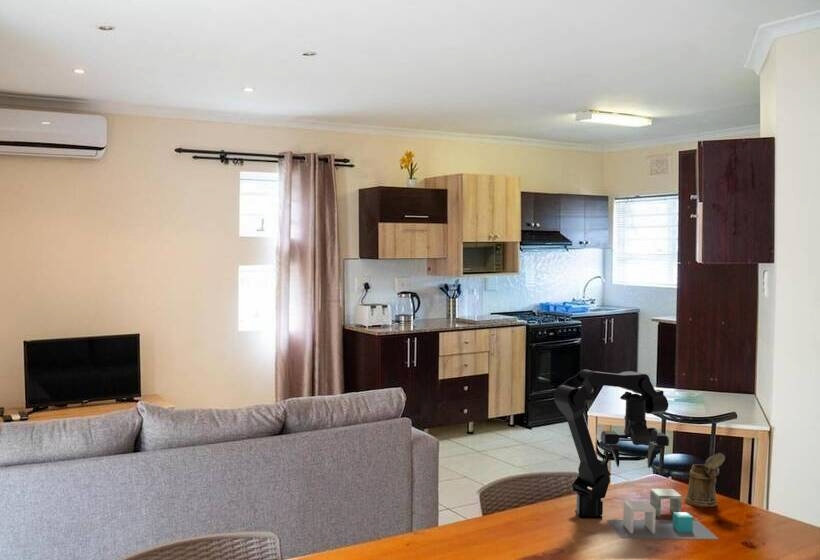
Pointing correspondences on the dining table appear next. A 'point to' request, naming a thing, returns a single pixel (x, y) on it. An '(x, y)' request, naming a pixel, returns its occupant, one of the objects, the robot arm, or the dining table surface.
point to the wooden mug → (704, 482)
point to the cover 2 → (665, 494)
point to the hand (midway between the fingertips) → (633, 467)
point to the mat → (661, 530)
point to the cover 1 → (639, 507)
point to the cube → (682, 521)
